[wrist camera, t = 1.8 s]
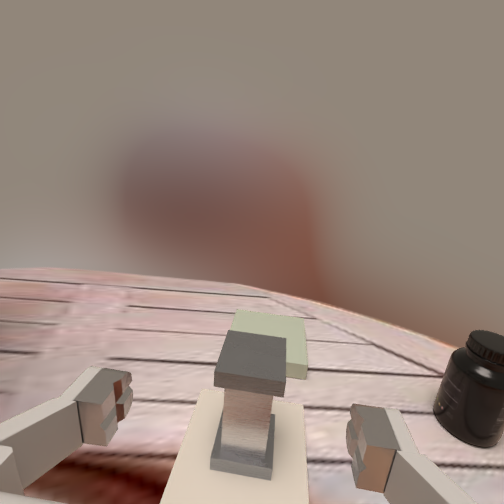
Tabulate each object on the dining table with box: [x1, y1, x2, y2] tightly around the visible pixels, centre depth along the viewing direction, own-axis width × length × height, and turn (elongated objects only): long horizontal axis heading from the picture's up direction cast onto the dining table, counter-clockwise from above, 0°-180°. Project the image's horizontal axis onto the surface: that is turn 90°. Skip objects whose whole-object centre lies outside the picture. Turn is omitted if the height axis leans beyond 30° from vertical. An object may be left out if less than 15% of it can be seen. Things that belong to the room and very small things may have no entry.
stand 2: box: [160, 389, 309, 504], centre depth 29 cm, size 12×12×2 cm
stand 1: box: [230, 309, 308, 380], centre depth 46 cm, size 12×12×2 cm
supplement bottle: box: [434, 330, 504, 447], centre depth 34 cm, size 7×7×12 cm
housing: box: [210, 330, 286, 481], centre depth 26 cm, size 6×6×11 cm
